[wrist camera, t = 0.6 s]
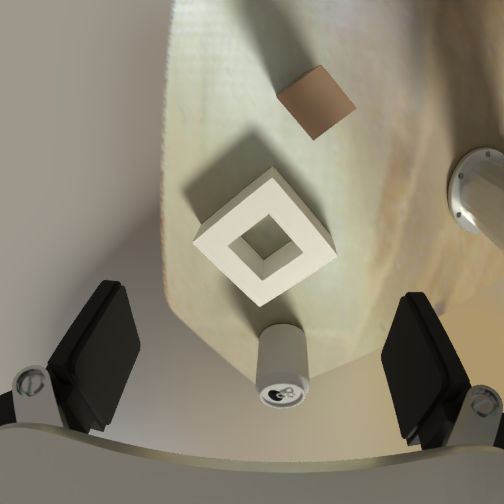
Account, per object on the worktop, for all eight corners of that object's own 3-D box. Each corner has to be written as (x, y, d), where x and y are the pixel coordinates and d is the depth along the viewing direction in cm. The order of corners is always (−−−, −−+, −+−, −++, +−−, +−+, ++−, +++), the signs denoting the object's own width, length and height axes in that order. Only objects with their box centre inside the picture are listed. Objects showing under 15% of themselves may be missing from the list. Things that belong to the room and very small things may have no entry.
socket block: (272, 165, 37) (272, 177, 33) (331, 236, 41) (338, 256, 36) (201, 224, 41) (192, 242, 37) (261, 284, 45) (259, 307, 41)
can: (251, 328, 49) (244, 388, 39) (296, 314, 47) (299, 375, 37) (270, 357, 53) (267, 416, 42) (312, 345, 51) (317, 405, 40)
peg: (306, 72, 31) (321, 64, 21) (331, 101, 33) (356, 108, 22) (276, 95, 33) (276, 97, 22) (301, 124, 34) (313, 140, 24)
